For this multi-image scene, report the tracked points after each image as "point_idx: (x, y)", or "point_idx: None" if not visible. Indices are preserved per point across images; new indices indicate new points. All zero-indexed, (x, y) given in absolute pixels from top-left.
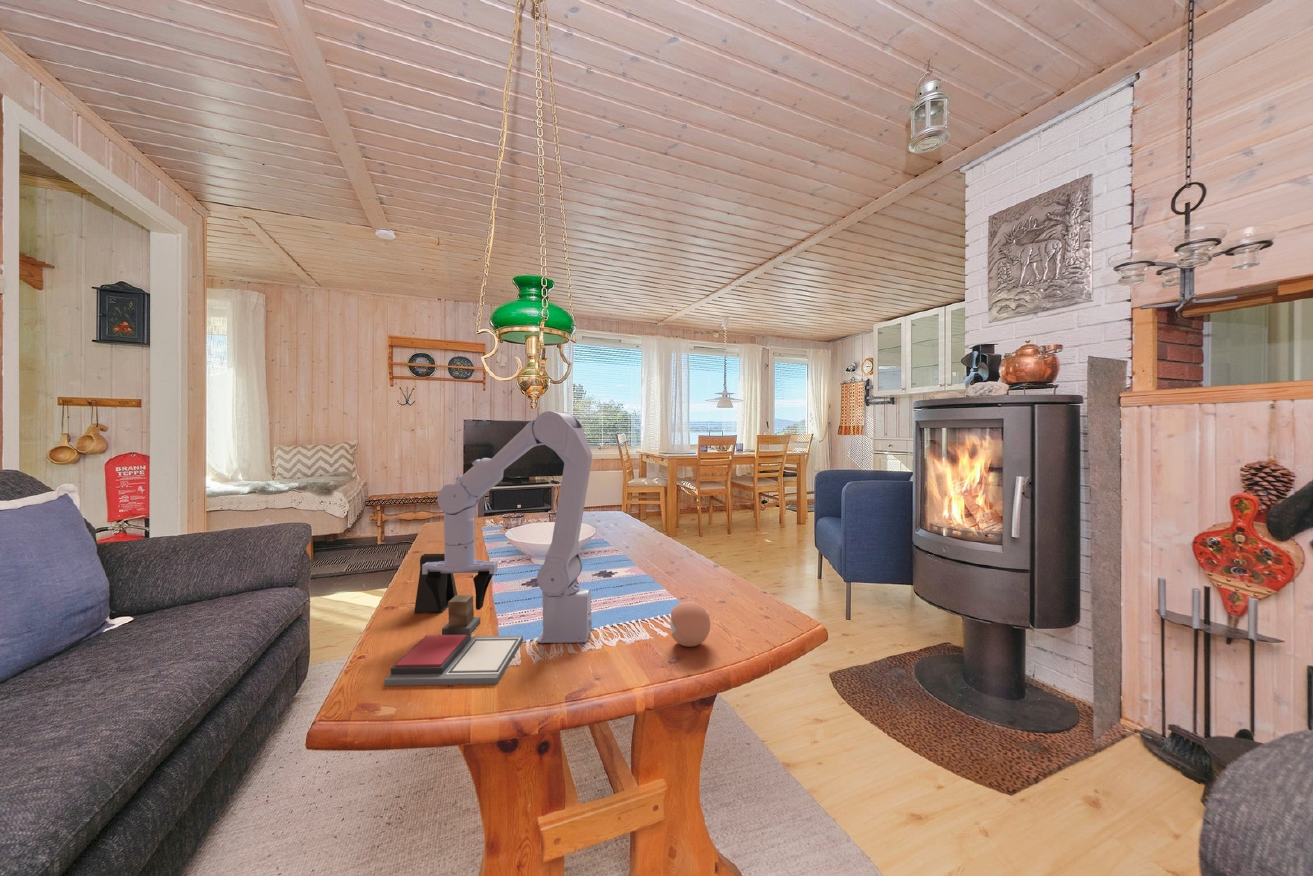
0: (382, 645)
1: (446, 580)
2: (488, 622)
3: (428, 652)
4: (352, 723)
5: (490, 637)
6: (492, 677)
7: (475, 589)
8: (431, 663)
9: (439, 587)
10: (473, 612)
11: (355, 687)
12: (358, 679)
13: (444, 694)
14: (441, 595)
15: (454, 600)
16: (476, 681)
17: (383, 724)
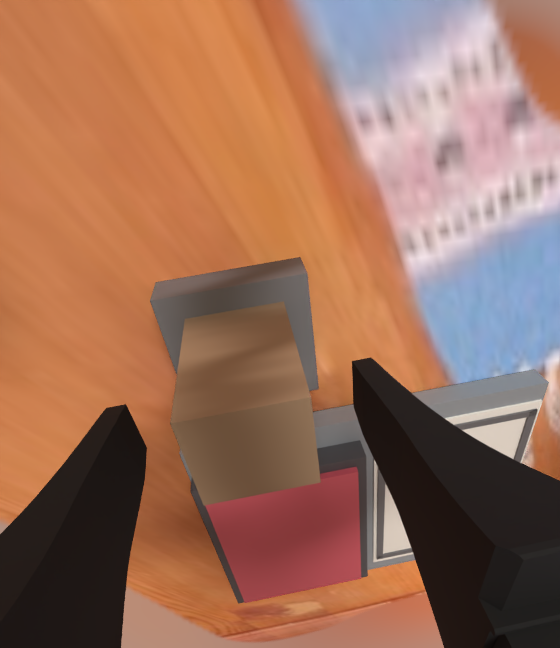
0: (16, 481)
1: (41, 565)
2: (339, 236)
3: (292, 559)
4: (269, 630)
5: None
6: None
7: (416, 555)
8: (335, 582)
9: (110, 617)
10: (289, 322)
11: (175, 594)
12: (151, 582)
13: (386, 566)
14: (117, 521)
15: (228, 484)
16: None
17: (323, 620)
